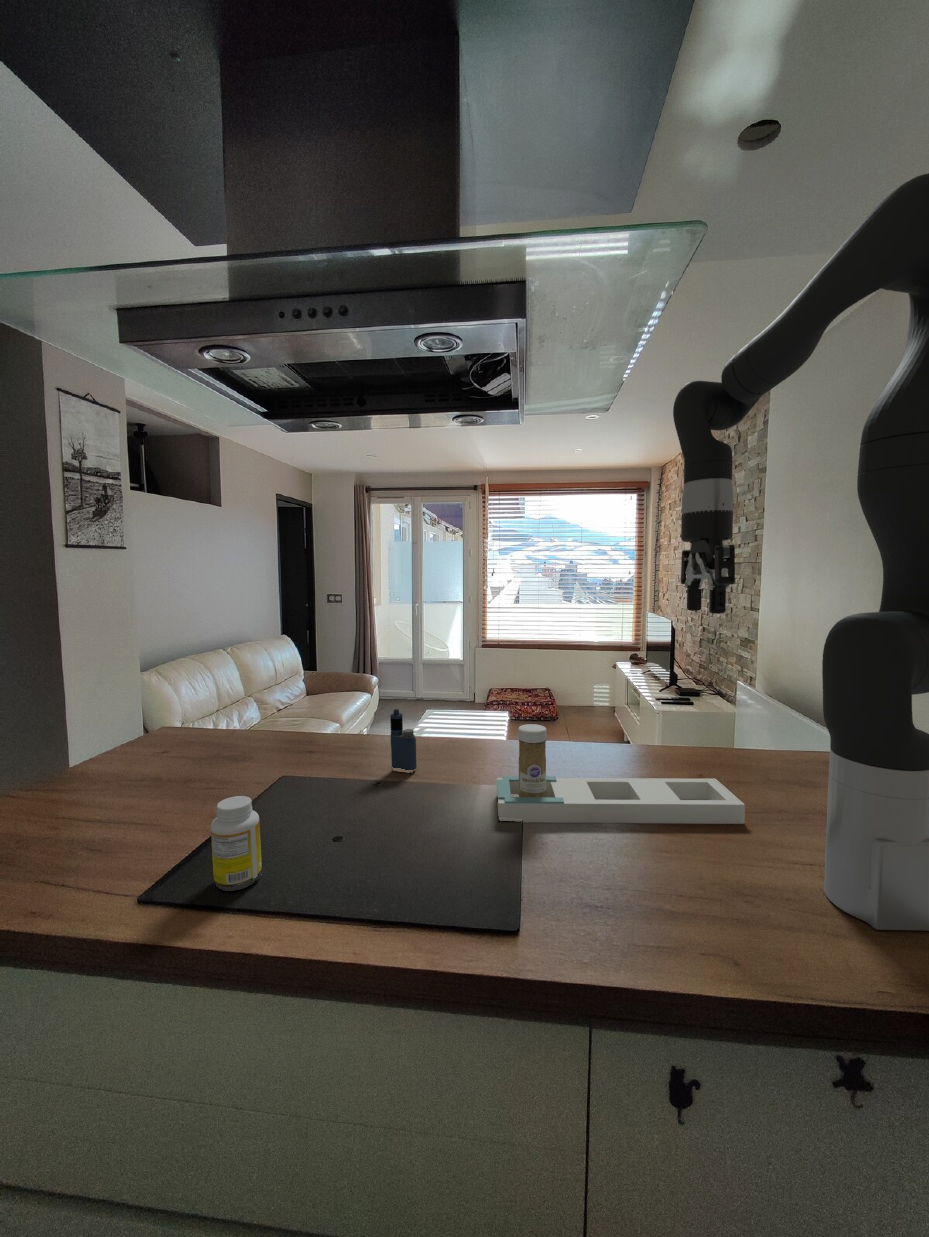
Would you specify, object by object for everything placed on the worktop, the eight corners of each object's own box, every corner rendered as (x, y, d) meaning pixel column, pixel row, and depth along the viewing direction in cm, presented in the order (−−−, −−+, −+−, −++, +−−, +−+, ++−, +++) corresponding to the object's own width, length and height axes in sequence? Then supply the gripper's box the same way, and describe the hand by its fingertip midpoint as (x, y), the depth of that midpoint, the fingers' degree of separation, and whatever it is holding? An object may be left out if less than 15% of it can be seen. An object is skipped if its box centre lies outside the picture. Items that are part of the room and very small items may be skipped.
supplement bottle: (241, 864, 68) (237, 789, 67) (271, 875, 66) (268, 797, 65) (203, 887, 63) (199, 806, 63) (234, 899, 61) (230, 816, 60)
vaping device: (395, 766, 103) (394, 707, 102) (418, 770, 101) (417, 710, 100) (388, 771, 101) (387, 710, 100) (412, 774, 99) (411, 713, 98)
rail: (744, 823, 78) (745, 802, 77) (498, 822, 79) (498, 801, 79) (714, 795, 88) (715, 776, 87) (497, 794, 89) (496, 776, 89)
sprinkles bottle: (525, 816, 81) (525, 732, 80) (514, 804, 85) (513, 724, 84) (551, 812, 82) (551, 729, 81) (539, 800, 87) (539, 722, 86)
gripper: (754, 504, 75) (751, 614, 77) (710, 516, 90) (708, 609, 91) (702, 505, 76) (700, 615, 77) (666, 517, 90) (665, 609, 91)
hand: (704, 611), depth 84 cm, fingers open, 8 cm apart
